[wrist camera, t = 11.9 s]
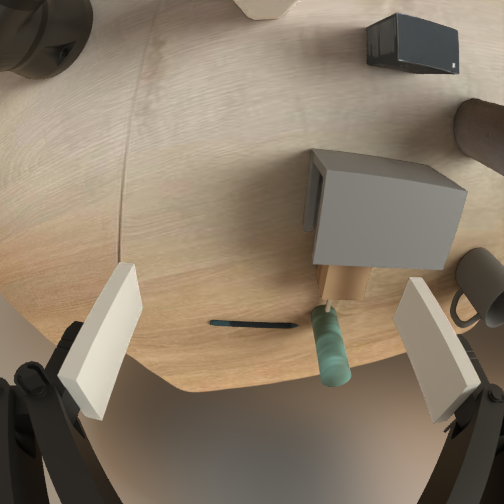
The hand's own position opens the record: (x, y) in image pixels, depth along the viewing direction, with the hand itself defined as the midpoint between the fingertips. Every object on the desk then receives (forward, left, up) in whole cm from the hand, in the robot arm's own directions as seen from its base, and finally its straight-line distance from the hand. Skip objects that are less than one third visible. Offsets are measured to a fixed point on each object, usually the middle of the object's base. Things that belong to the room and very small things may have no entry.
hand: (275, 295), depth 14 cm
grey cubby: (+15, -4, -29) cm, 33 cm away
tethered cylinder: (+12, -20, -29) cm, 37 cm away
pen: (0, -30, -30) cm, 42 cm away
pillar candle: (+32, +9, -29) cm, 44 cm away
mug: (+39, -17, -29) cm, 52 cm away
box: (+16, +17, -29) cm, 37 cm away
